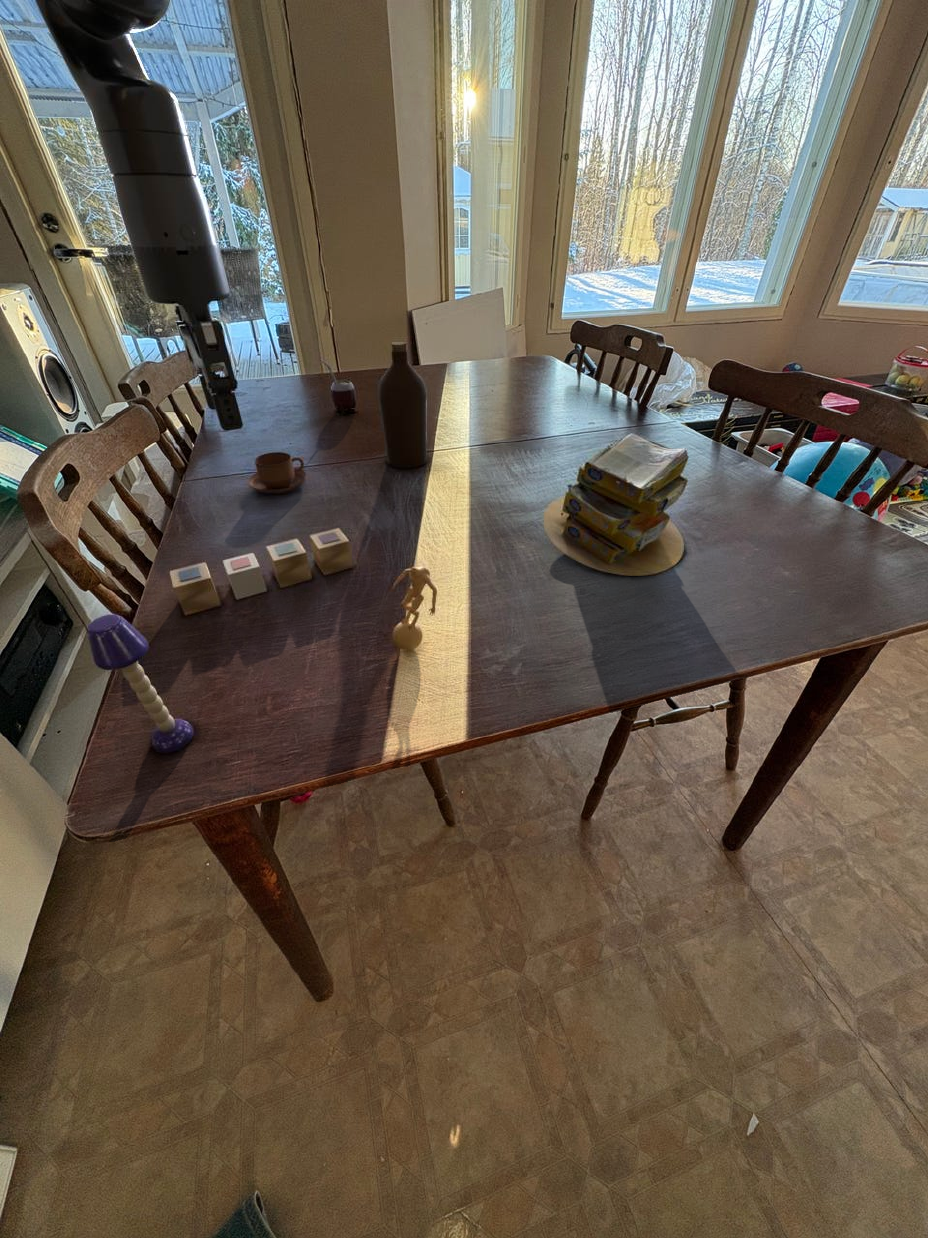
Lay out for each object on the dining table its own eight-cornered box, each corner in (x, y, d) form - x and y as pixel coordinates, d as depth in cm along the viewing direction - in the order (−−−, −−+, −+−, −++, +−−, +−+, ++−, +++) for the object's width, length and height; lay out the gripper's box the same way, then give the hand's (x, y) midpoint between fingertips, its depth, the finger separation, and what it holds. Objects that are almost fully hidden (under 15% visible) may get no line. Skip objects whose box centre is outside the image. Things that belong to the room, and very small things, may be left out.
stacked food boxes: (713, 550, 89) (746, 456, 78) (608, 593, 79) (629, 492, 68) (612, 497, 105) (628, 413, 95) (514, 527, 95) (520, 438, 85)
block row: (185, 615, 75) (172, 587, 72) (181, 598, 78) (169, 570, 75) (353, 567, 85) (349, 540, 82) (343, 553, 88) (338, 527, 85)
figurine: (378, 638, 71) (368, 565, 63) (413, 620, 74) (407, 548, 66) (416, 669, 66) (409, 593, 59) (451, 648, 69) (449, 574, 62)
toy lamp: (143, 758, 55) (68, 642, 45) (152, 726, 59) (84, 611, 48) (191, 748, 56) (128, 633, 46) (196, 717, 60) (139, 603, 49)
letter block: (236, 600, 78) (227, 574, 75) (230, 585, 81) (222, 559, 78) (267, 591, 80) (259, 565, 77) (260, 576, 83) (252, 551, 80)
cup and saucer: (283, 471, 117) (276, 444, 113) (319, 483, 111) (314, 455, 108) (238, 489, 109) (230, 461, 105) (275, 503, 104) (268, 474, 100)
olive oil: (396, 473, 115) (385, 350, 100) (377, 458, 123) (364, 341, 107) (437, 463, 120) (433, 344, 104) (417, 449, 127) (410, 336, 111)
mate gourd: (360, 408, 154) (353, 353, 144) (352, 416, 148) (345, 359, 138) (336, 407, 154) (328, 352, 145) (328, 415, 148) (318, 358, 139)
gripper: (125, 238, 51) (182, 407, 61) (134, 244, 42) (199, 443, 52) (205, 237, 54) (246, 398, 64) (230, 242, 44) (274, 430, 55)
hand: (225, 418), depth 58 cm, fingers open, 8 cm apart
